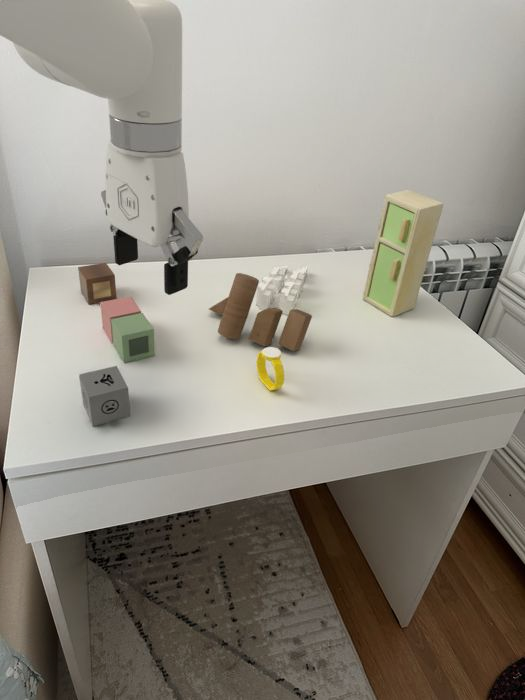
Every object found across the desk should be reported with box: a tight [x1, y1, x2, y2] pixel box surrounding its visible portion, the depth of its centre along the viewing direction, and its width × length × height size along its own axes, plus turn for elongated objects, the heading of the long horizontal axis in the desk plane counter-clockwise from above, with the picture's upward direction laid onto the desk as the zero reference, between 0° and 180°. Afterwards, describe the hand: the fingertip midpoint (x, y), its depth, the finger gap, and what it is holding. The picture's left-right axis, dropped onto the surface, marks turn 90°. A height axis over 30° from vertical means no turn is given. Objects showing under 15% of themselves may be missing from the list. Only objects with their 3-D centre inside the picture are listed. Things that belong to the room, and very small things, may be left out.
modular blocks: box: [255, 265, 308, 316], centre depth 104 cm, size 20×7×4 cm, turn 165°
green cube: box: [111, 312, 156, 364], centre depth 83 cm, size 5×5×5 cm
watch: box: [256, 346, 285, 392], centre depth 78 cm, size 6×3×6 cm, turn 28°
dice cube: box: [78, 365, 131, 427], centre depth 71 cm, size 5×5×5 cm
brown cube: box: [77, 262, 118, 305], centre depth 95 cm, size 5×5×5 cm
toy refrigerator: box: [362, 189, 444, 317], centre depth 97 cm, size 8×7×21 cm
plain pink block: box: [99, 296, 142, 345], centre depth 86 cm, size 5×5×5 cm
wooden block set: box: [208, 272, 313, 352], centre depth 88 cm, size 18×9×10 cm, turn 59°
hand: (150, 275), depth 67 cm, fingers open, 9 cm apart
